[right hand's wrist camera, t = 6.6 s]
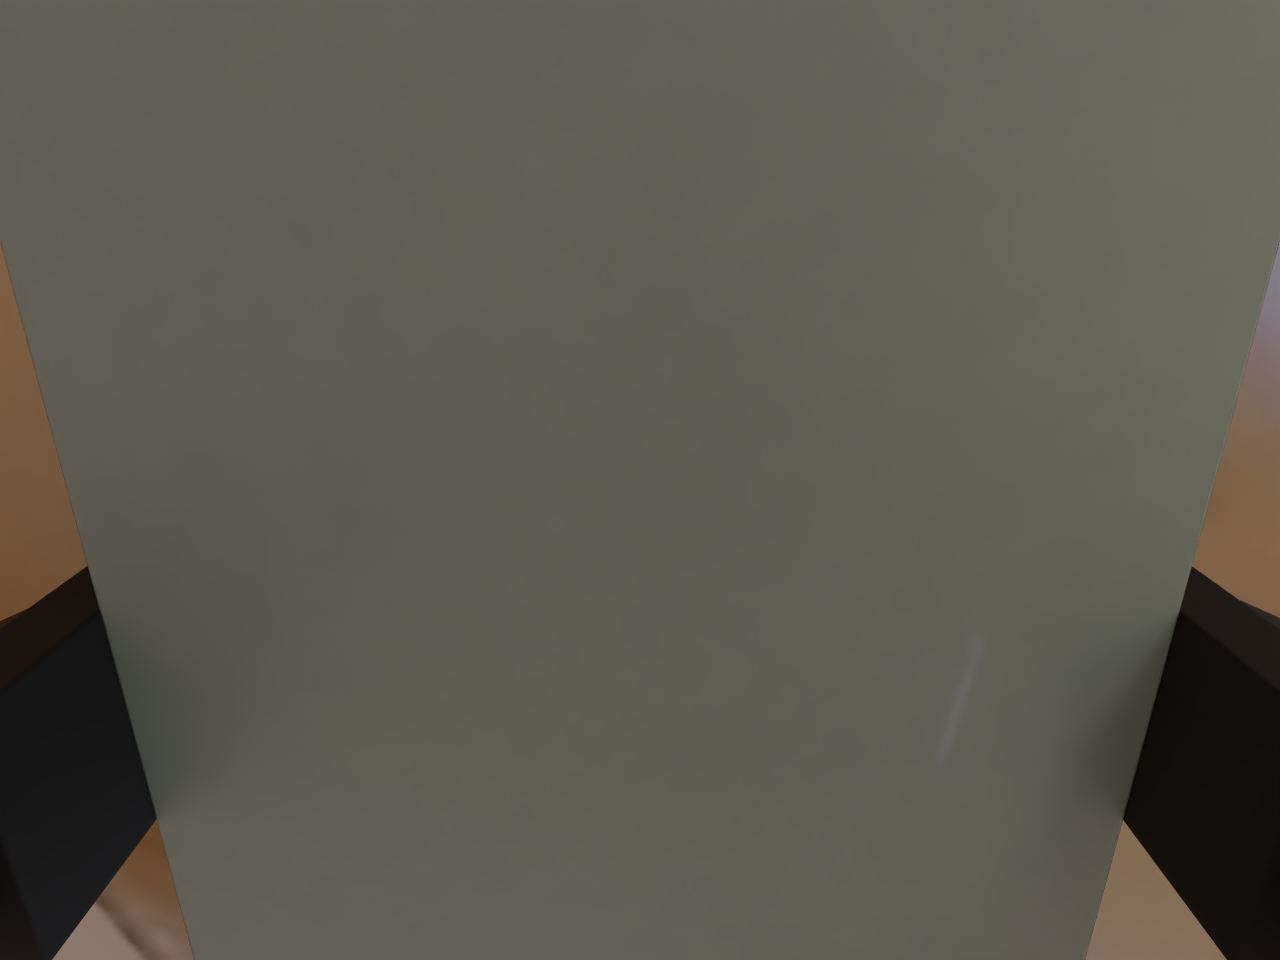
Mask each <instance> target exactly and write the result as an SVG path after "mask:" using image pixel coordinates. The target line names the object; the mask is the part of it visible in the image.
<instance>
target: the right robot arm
mask: <svg viewBox="0 0 1280 960" xmlns="http://www.w3.org/2000/svg"><path fill="white" fill-rule="evenodd" d="M155 820H156V816H155V812H154V809H153V805H152V801H151V797H150V794H149V790H148V786H147V783H146V779H145V775H144V772H143V768H142V764H141V761H140V757H139V753H138V749H137V746H136V742H135V738H134V735H133V731H132V727H131V724H130V720H129V716H128V712H127V709H126V705H125V701H124V698H123V694H122V690H121V687H120V683H119V679H118V675H117V672H116V668H115V664H114V661H113V657H112V653H111V650H110V646H109V642H108V638H107V635H106V631H105V627H104V624H103V620H102V616H101V613H100V609H99V605H98V602H97V598H96V594H95V590H94V587H93V583H92V579H91V576H90V572H89V568H88V566H87V567H85V568H84V569H83V570H81V571H80V572H78V573H77V574H76V575H74V576H73V577H72V578H70V579H69V580H67V581H66V582H65V583H63V584H62V585H60V586H59V587H58V588H56V589H55V590H53V591H52V592H51V593H49V594H48V595H46V596H45V597H44V598H42V599H41V600H40V601H38V602H37V603H35V604H34V605H33V606H31V607H30V608H28V609H26V610H24V611H22V612H19V613H17V614H15V615H13V616H11V617H8V618H6V619H4V620H2V621H0V960H52V959H53V958H54V956H55V955H56V954H57V952H58V951H59V950H60V948H61V947H62V946H63V944H64V943H65V941H66V940H67V939H68V938H69V936H70V935H71V933H72V932H73V931H74V929H75V928H76V927H77V925H78V924H79V923H80V921H81V920H82V919H83V917H84V916H85V915H86V913H87V912H88V911H89V909H90V908H91V907H92V905H93V904H94V903H95V901H96V900H97V898H98V897H99V896H100V894H101V893H102V892H103V890H104V889H105V888H106V886H107V885H108V884H109V882H110V881H111V880H112V878H113V877H114V876H115V874H116V873H117V872H118V870H119V869H120V867H121V866H122V865H123V863H124V862H125V861H126V859H127V858H128V857H129V855H130V854H131V853H132V851H133V850H134V849H135V847H136V846H137V845H138V843H139V842H140V841H141V839H142V838H143V837H144V835H145V834H146V832H147V831H148V830H149V828H150V827H151V826H152V824H153V823H154V822H155ZM1123 820H1124V822H1125V823H1126V824H1127V826H1128V827H1129V828H1130V830H1131V831H1132V832H1133V834H1134V835H1135V836H1136V838H1137V839H1138V840H1139V842H1140V843H1141V844H1142V846H1143V847H1144V848H1145V850H1146V851H1147V853H1148V854H1149V855H1150V857H1151V858H1152V859H1153V861H1154V862H1155V863H1156V865H1157V866H1158V867H1159V869H1160V870H1161V871H1162V873H1163V874H1164V875H1165V877H1166V878H1167V879H1168V881H1169V882H1170V884H1171V885H1172V886H1173V888H1174V889H1175V890H1176V892H1177V893H1178V894H1179V896H1180V897H1181V898H1182V900H1183V901H1184V902H1185V904H1186V905H1187V906H1188V908H1189V909H1190V910H1191V912H1192V913H1193V915H1194V916H1195V917H1196V919H1197V920H1198V921H1199V923H1200V924H1201V925H1202V927H1203V928H1204V929H1205V931H1206V932H1207V933H1208V935H1209V936H1210V937H1211V939H1212V940H1213V941H1214V943H1215V944H1216V946H1217V947H1218V948H1219V950H1220V951H1221V952H1222V954H1223V955H1224V956H1225V958H1226V959H1227V960H1280V618H1278V617H1276V616H1274V615H1272V614H1270V613H1267V612H1265V611H1263V610H1261V609H1259V608H1256V607H1254V606H1252V605H1250V604H1248V603H1245V602H1243V601H1239V600H1238V599H1237V598H1235V597H1234V596H1233V595H1231V594H1230V593H1228V592H1227V591H1226V590H1224V589H1223V588H1221V587H1220V586H1219V585H1217V584H1216V583H1214V582H1213V581H1212V580H1210V579H1209V578H1208V577H1206V576H1205V575H1203V574H1202V573H1201V572H1199V571H1198V570H1196V569H1195V568H1194V567H1191V570H1190V574H1189V578H1188V581H1187V585H1186V589H1185V593H1184V596H1183V600H1182V604H1181V607H1180V611H1179V615H1178V618H1177V622H1176V626H1175V630H1174V633H1173V637H1172V641H1171V644H1170V648H1169V652H1168V655H1167V659H1166V663H1165V666H1164V670H1163V674H1162V678H1161V681H1160V685H1159V689H1158V692H1157V696H1156V700H1155V703H1154V707H1153V711H1152V714H1151V718H1150V722H1149V726H1148V729H1147V733H1146V737H1145V740H1144V744H1143V748H1142V751H1141V755H1140V759H1139V762H1138V766H1137V770H1136V774H1135V777H1134V781H1133V785H1132V788H1131V792H1130V796H1129V799H1128V803H1127V807H1126V810H1125V814H1124V818H1123Z"/></svg>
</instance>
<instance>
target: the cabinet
mask: <svg viewBox="0 0 1280 960" xmlns="http://www.w3.org/2000/svg"><path fill="white" fill-rule="evenodd" d="M1279 242H1280V0H0V243H1V247H2V250H3V254H4V258H5V261H6V265H7V269H8V272H9V276H10V280H11V284H12V287H13V291H14V295H15V298H16V302H17V306H18V309H19V313H20V317H21V321H22V324H23V328H24V332H25V335H26V339H27V343H28V346H29V350H30V354H31V357H32V361H33V365H34V369H35V372H36V376H37V380H38V383H39V387H40V391H41V394H42V398H43V402H44V406H45V409H46V413H47V417H48V420H49V424H50V428H51V431H52V435H53V439H54V443H55V446H56V450H57V454H58V457H59V461H60V465H61V468H62V472H63V476H64V480H65V483H66V487H67V491H68V494H69V498H70V502H71V505H72V509H73V513H74V516H75V520H76V524H77V528H78V531H79V535H80V539H81V542H82V546H83V550H84V553H85V557H86V561H87V565H88V568H89V572H90V576H91V579H92V583H93V587H94V590H95V594H96V598H97V602H98V605H99V609H100V613H101V616H102V620H103V624H104V627H105V631H106V635H107V638H108V642H109V646H110V650H111V653H112V657H113V661H114V664H115V668H116V672H117V675H118V679H119V683H120V687H121V690H122V694H123V698H124V701H125V705H126V709H127V712H128V716H129V720H130V724H131V727H132V731H133V735H134V738H135V742H136V746H137V749H138V753H139V757H140V761H141V764H142V768H143V772H144V775H145V779H146V783H147V786H148V790H149V794H150V797H151V801H152V805H153V809H154V812H155V816H156V820H157V823H158V827H159V831H160V834H161V838H162V842H163V846H164V849H165V853H166V857H167V860H168V864H169V868H170V871H171V875H172V879H173V883H174V886H175V890H176V894H177V897H178V901H179V905H180V908H181V912H182V916H183V920H184V923H185V927H186V931H187V934H188V938H189V942H190V945H191V949H192V953H193V956H194V960H1085V958H1086V955H1087V951H1088V947H1089V943H1090V940H1091V936H1092V932H1093V929H1094V925H1095V921H1096V918H1097V914H1098V910H1099V907H1100V903H1101V899H1102V895H1103V892H1104V888H1105V884H1106V881H1107V877H1108V873H1109V870H1110V866H1111V862H1112V858H1113V855H1114V851H1115V847H1116V844H1117V840H1118V836H1119V833H1120V829H1121V825H1122V822H1123V818H1124V814H1125V810H1126V807H1127V803H1128V799H1129V796H1130V792H1131V788H1132V785H1133V781H1134V777H1135V774H1136V770H1137V766H1138V762H1139V759H1140V755H1141V751H1142V748H1143V744H1144V740H1145V737H1146V733H1147V729H1148V726H1149V722H1150V718H1151V714H1152V711H1153V707H1154V703H1155V700H1156V696H1157V692H1158V689H1159V685H1160V681H1161V678H1162V674H1163V670H1164V666H1165V663H1166V659H1167V655H1168V652H1169V648H1170V644H1171V641H1172V637H1173V633H1174V630H1175V626H1176V622H1177V618H1178V615H1179V611H1180V607H1181V604H1182V600H1183V596H1184V593H1185V589H1186V585H1187V581H1188V578H1189V574H1190V570H1191V567H1192V563H1193V559H1194V556H1195V552H1196V548H1197V545H1198V541H1199V537H1200V533H1201V530H1202V526H1203V522H1204V519H1205V515H1206V511H1207V508H1208V504H1209V500H1210V497H1211V493H1212V489H1213V485H1214V482H1215V478H1216V474H1217V471H1218V467H1219V463H1220V460H1221V456H1222V452H1223V449H1224V445H1225V441H1226V437H1227V434H1228V430H1229V426H1230V423H1231V419H1232V415H1233V412H1234V408H1235V404H1236V401H1237V397H1238V393H1239V389H1240V386H1241V382H1242V378H1243V375H1244V371H1245V367H1246V364H1247V360H1248V356H1249V352H1250V349H1251V345H1252V341H1253V338H1254V334H1255V330H1256V327H1257V323H1258V319H1259V316H1260V312H1261V308H1262V304H1263V301H1264V297H1265V293H1266V290H1267V286H1268V282H1269V279H1270V275H1271V271H1272V268H1273V264H1274V260H1275V256H1276V253H1277V249H1278V245H1279Z"/></svg>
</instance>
